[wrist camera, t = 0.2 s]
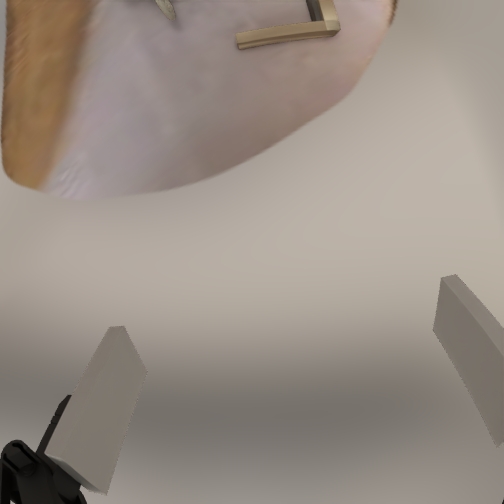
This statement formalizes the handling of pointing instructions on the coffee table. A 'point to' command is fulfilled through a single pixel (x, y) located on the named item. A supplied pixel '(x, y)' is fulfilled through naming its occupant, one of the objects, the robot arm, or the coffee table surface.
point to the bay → (295, 27)
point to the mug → (166, 8)
